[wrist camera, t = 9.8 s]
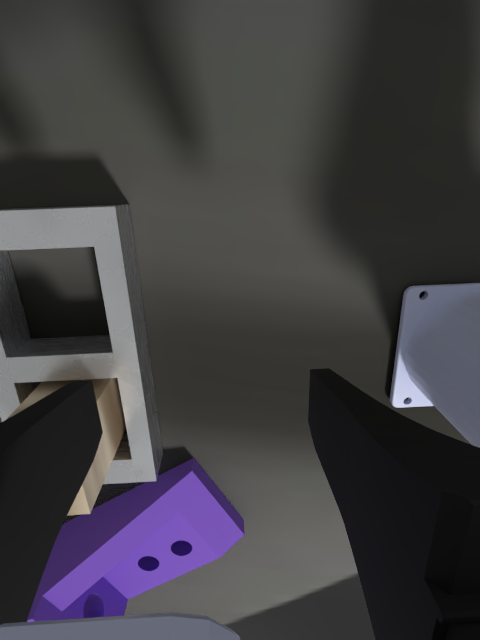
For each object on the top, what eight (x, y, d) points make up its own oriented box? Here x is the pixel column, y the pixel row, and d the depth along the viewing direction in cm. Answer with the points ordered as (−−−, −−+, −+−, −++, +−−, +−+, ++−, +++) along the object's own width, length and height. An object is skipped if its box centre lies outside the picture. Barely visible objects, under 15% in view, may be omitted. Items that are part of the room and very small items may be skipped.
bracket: (114, 576, 28) (82, 689, 22) (57, 523, 26) (3, 632, 20) (243, 516, 27) (249, 619, 20) (193, 454, 25) (182, 548, 18)
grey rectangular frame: (129, 204, 18) (115, 206, 16) (163, 452, 24) (156, 481, 22) (-28, 210, 18) (-66, 213, 16) (43, 459, 24) (23, 488, 21)
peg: (118, 366, 22) (71, 443, 15) (128, 421, 23) (90, 513, 16) (52, 371, 22) (-24, 450, 15) (66, 425, 23) (3, 520, 16)
